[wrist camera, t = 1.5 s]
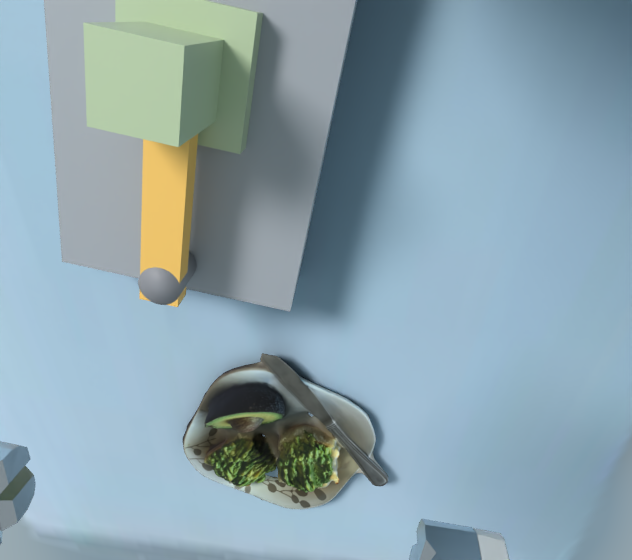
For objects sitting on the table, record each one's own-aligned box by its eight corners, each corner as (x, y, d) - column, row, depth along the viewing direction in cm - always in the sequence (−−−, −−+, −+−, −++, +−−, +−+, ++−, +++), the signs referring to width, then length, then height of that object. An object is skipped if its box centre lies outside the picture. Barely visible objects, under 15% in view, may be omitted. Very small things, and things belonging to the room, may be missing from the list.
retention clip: (164, 108, 27) (141, 119, 24) (209, 119, 27) (191, 130, 24) (157, 275, 32) (137, 299, 30) (195, 283, 32) (179, 308, 30)
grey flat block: (86, -173, 25) (29, -213, 21) (379, -103, 26) (382, -128, 21) (97, 232, 37) (62, 261, 33) (298, 277, 37) (290, 311, 33)
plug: (152, -15, 27) (41, -32, 18) (273, 13, 27) (226, 11, 18) (149, 111, 30) (54, 153, 21) (256, 136, 31) (209, 187, 21)
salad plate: (433, 417, 44) (440, 457, 40) (337, 519, 52) (335, 561, 48) (242, 325, 41) (229, 359, 37) (172, 449, 49) (155, 488, 45)
